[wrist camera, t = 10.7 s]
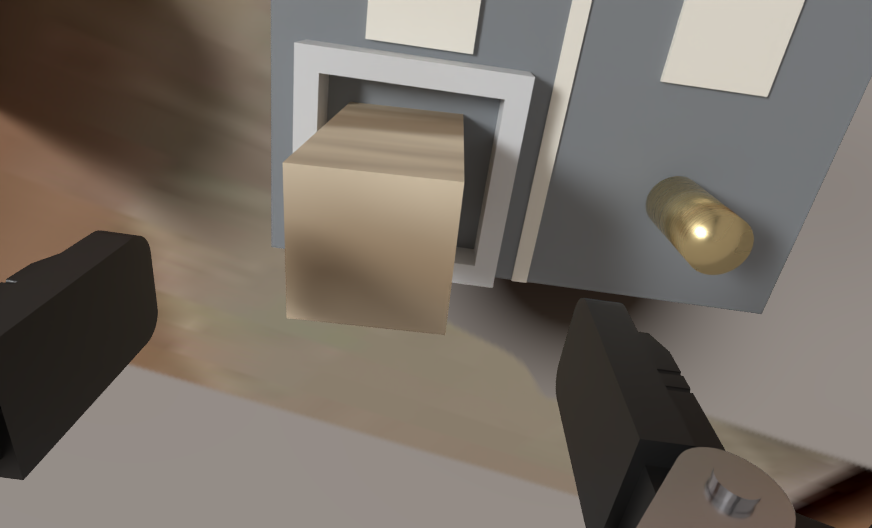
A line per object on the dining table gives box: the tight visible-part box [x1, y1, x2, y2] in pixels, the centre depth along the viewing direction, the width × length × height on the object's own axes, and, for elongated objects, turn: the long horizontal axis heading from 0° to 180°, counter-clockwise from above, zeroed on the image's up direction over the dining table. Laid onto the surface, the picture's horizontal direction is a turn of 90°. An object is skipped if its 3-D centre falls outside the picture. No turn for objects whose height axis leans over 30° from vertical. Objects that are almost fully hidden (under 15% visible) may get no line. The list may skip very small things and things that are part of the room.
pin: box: [646, 176, 754, 275], centre depth 18 cm, size 2×2×4 cm
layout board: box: [271, 0, 872, 314], centre depth 19 cm, size 13×20×2 cm, turn 83°
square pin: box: [283, 102, 464, 335], centre depth 16 cm, size 4×4×8 cm
